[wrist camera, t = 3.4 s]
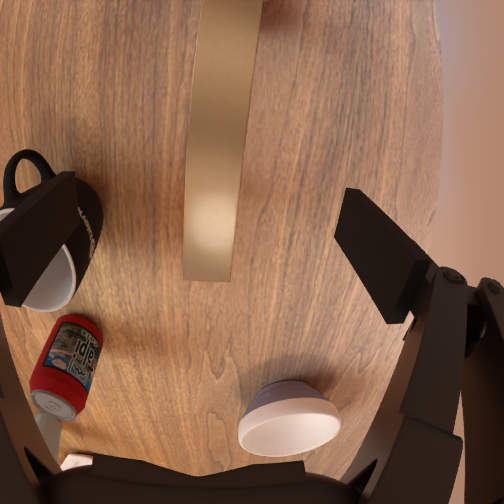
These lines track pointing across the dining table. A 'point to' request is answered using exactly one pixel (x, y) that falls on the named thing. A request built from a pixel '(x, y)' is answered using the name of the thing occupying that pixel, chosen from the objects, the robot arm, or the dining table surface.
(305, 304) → the dining table surface
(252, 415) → the bowl
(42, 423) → the cup
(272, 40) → the dining table surface
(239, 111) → the ladle
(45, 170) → the mug
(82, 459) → the plate
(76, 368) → the beverage can
